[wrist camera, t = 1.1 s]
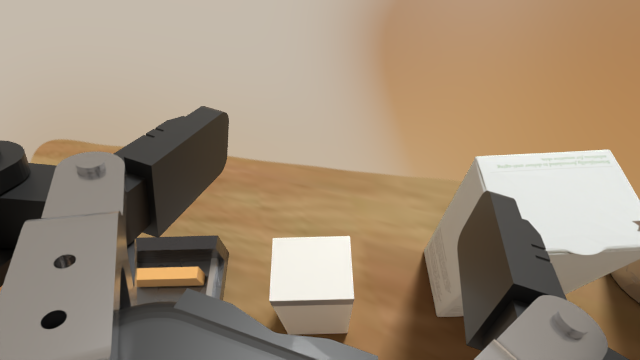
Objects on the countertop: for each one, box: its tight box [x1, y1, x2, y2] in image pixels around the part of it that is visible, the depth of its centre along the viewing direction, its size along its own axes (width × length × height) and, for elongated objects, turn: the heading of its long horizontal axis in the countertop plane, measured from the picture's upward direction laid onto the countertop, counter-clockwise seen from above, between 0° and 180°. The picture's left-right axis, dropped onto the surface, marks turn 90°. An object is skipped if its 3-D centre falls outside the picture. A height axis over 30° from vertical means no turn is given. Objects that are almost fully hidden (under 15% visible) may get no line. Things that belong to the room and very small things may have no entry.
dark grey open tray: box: [136, 236, 229, 305], centre depth 29 cm, size 9×15×4 cm, turn 1°
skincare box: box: [424, 150, 640, 317], centre depth 26 cm, size 8×7×16 cm
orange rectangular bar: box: [137, 267, 205, 287], centre depth 31 cm, size 6×1×2 cm, turn 91°
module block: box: [269, 236, 354, 335], centre depth 27 cm, size 5×4×11 cm
